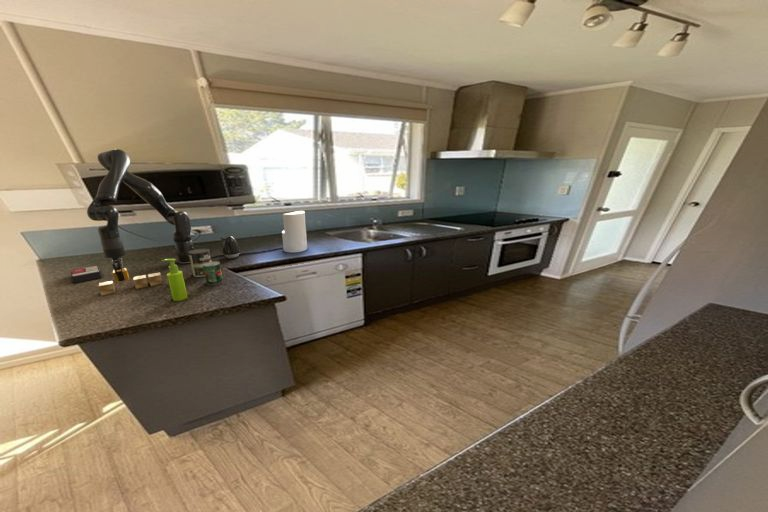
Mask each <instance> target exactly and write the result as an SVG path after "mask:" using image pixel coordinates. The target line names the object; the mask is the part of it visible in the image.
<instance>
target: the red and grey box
mask: <svg viewBox="0 0 768 512" xmlns="http://www.w3.org/2000/svg"><path fill="white" fill-rule="evenodd" d="M70 278H71V280H72V283H73V284H77V283H83V282H87V281H91V280H97V279H102V278H103V277H102V274H101V270H100V268H99V266H97V265H94V266H88V267H82V268H77V269H71V271H70Z"/></svg>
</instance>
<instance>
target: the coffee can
mask: <svg viewBox="0 0 768 512" xmlns="http://www.w3.org/2000/svg"><path fill="white" fill-rule="evenodd" d="M188 253H189V257H190V262H191V263H190V265H191V272H192V276H193V277H195V278H203V277H205V273H204V267H203V264H204V263H207V262H212V258H211V257H212V256H211V253H210V249H209V248H203V247H202V248H194V250H191V251H189V252H188Z"/></svg>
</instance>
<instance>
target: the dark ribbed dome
mask: <svg viewBox="0 0 768 512" xmlns="http://www.w3.org/2000/svg"><path fill="white" fill-rule="evenodd" d="M220 240H222V241H223V244H222V255H224V256H223V257H225V258H226V259H228V260H229V259H230V260H233V259H236V258H238V257H239V254H240V252H241V250H240V246H239V244H238V241H237V240H236V239H235V237H234V236H232V235H228V236H226V237H220Z"/></svg>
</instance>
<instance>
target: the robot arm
mask: <svg viewBox="0 0 768 512" xmlns="http://www.w3.org/2000/svg"><path fill="white" fill-rule="evenodd" d="M97 161H98V163H99V164H100V165H101V166H102V168H104V170H106V171H107V173H106V175H105V176H104V178H103V179H102V180H101V181H100V183H99V185H98V188H97V192H96V196H95V197H94V199H92V201H91V203H90V204H89V205H88V207H87V209H86V214H87V217H88V218H89V219H90V220H91V221H95V222H102V221H103V222H105V221H107V223H106V224H104V225H100V226H98V227H97V233H98V235H99V239H100V246H101V248H102V252H103V256H104V258H106V259H111V261H110V263H111V265H112V268H113V270H114V271H115V274H117V276H118V280H119V281H120V282H125V281H124V280H125V278H124V275H123V270H122V269H123V268H125V263H124V259H123V257H124V256H125V255H126V250H125V247H124V244H123V240H122V238H121V235H120V231H119V215H120V213H119V210H118V209H117V208H116V207H115V206H113V205H115V204H116V202H117V200H118V196H119V191H120V186H121V184H122V182H123V183H124V184H125V185H126V186H127V187H128V188H130V189H131V190H132V191H133V192H135V194H137V195H138V196H139V197H140V198H141V199H142V200H144V201H145V202H146V203H147V204H148V205H149V206H151V207H152V208H153V209H154V210H156V211H157V212H158V213H159V214H160V215H161V217H163V218H164V220H166V222H167V223H168V224H170V225H172V226H174V228H175V230H174V231H172V238H173V242H174V247H175V251H176V255H177V256H176V257H177V260H178V264H180V265H181V264H183V265H184V264H191V262H190V257H189V253H188V252H189V251H191V250H194V249H195V248H194V244H193V240H192V235H191V234H192V233H191V232H192V226H191V220H190V217H189V213H187V212H186V211H184V210H183V211H182V210H178V209H177V210H176V209H175V208H174V207H172V206H171V205H170V204H169V203H168V202H167V201H166V199H165V197H164V195H163V193H162V192H161V191H160V190H159V188H158V187H156V185H154V184H153V182H150V181H148V180H147V179H145V178H142V177H140V176H139V175H135V174H134V173H132V172H130V171H129V170H128V169H129V167H130V164H131V158H130V156H129V154H128V153H127V151H126V152H125V150H123V149H119V148H114V149H110V150H105V151H103V152H100V153H98V154H97ZM282 249H284V248H283V246H282V247H277V248H273V249H266V250H261V251H253V252H242V253H240V252H239V255H240V256H241V255H250V254H261V253H266V252H272V251H277V250H282ZM210 257H211V259H214V258H219V257H225V256H224V254H218V255H215V256H210ZM117 270H120V271H118V272H117Z"/></svg>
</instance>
